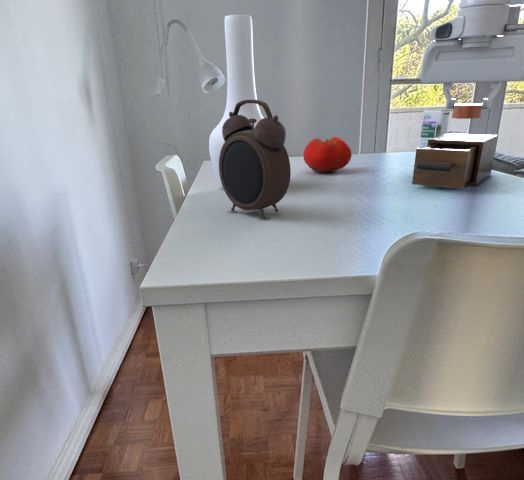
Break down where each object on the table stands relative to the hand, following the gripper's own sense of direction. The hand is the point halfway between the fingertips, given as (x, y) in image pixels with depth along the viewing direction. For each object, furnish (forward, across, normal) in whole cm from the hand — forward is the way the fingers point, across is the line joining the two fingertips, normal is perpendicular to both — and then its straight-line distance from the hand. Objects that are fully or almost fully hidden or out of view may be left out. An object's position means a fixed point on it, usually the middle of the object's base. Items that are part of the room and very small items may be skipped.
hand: (467, 108), depth 96 cm
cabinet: (+17, +4, -18) cm, 25 cm away
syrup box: (+17, +17, -36) cm, 43 cm away
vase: (+17, +46, +15) cm, 52 cm away
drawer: (+16, +4, -5) cm, 17 cm away
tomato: (+17, +39, -13) cm, 45 cm away
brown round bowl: (+2, 0, 0) cm, 2 cm away
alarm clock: (+16, +29, +36) cm, 49 cm away
